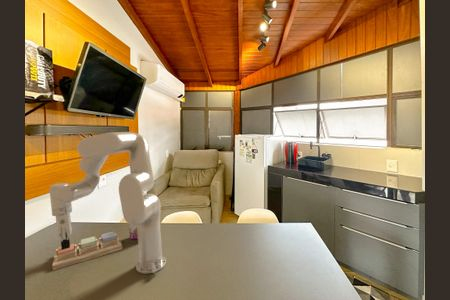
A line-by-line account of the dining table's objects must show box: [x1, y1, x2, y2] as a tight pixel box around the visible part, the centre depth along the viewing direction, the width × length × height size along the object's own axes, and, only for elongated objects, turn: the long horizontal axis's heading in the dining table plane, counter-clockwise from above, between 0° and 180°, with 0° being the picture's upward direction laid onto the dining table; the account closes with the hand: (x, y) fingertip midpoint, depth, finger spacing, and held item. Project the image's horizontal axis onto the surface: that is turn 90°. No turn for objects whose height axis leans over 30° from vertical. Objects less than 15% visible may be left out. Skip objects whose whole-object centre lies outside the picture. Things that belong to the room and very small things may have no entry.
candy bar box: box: [128, 224, 138, 240], centre depth 123 cm, size 11×5×16 cm, turn 84°
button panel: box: [52, 233, 123, 271], centre depth 110 cm, size 14×28×4 cm, turn 124°
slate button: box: [101, 230, 116, 243], centre depth 115 cm, size 6×6×3 cm
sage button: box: [80, 235, 96, 249], centre depth 110 cm, size 6×6×3 cm
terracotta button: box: [57, 243, 75, 255], centre depth 105 cm, size 6×6×3 cm
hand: (65, 247), depth 105 cm, fingers closed
